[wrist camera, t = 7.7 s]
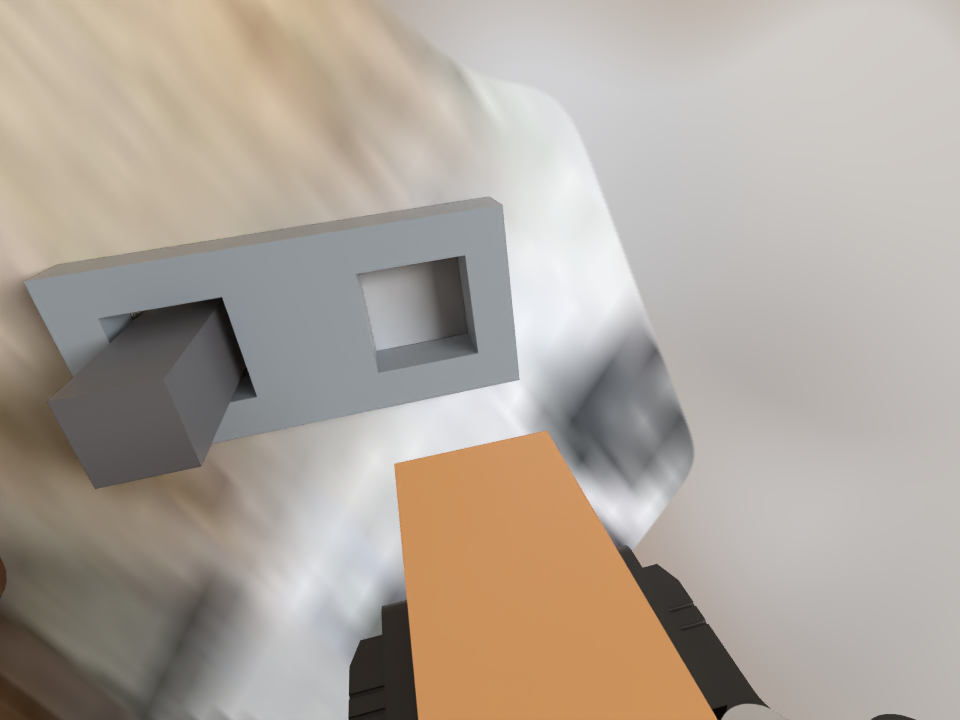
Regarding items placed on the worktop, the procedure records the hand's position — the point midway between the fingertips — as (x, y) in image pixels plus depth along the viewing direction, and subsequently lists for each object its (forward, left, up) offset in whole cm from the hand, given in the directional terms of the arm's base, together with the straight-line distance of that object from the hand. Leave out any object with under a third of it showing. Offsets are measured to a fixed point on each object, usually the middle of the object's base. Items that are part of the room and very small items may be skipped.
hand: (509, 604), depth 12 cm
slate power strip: (-6, 0, -22) cm, 22 cm away
